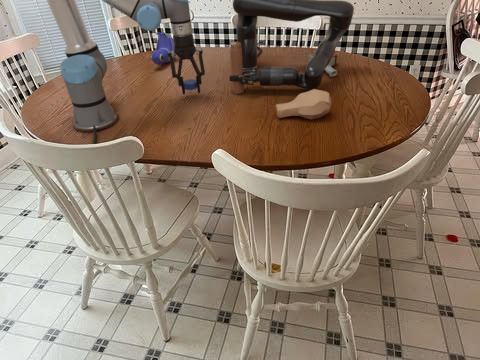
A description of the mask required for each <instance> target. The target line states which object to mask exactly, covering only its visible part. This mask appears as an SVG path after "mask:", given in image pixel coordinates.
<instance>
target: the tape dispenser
mask: <svg viewBox="0 0 480 360" xmlns="http://www.w3.org/2000/svg"><path fill="white" fill-rule="evenodd" d="M313 56H314V54H308V63H309V62H310V60H311V59H312V58H313ZM337 59H338V54H337V53H336V52H335V51H334V53H333V56H332V58H331V60H330V62H329V64H328V66H327V67H326V68H325V69H324V71H325V73H326V74H328V76H329V77H330V78H333V77H336V76H337V75H338V70H337V69H335V68H333V66H336V64H337Z"/></svg>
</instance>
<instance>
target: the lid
mask: <svg viewBox="0 0 480 360" xmlns="http://www.w3.org/2000/svg"><path fill="white" fill-rule="evenodd" d="M183 81H184V82H183V86H184V89H185V91H193V90H196V89H198V88H197V81H196V78H190V79H185V80H183Z"/></svg>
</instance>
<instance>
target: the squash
mask: <svg viewBox="0 0 480 360" xmlns="http://www.w3.org/2000/svg"><path fill="white" fill-rule="evenodd" d="M331 107H332V98H331V94H330V92H328V91H326V90H321V89H317V88H315V89H309V90H308V91H305V92H301V93H299V94H298V95H297V96H296V97H295V98H294V99H293V100H292V101H289V102H288V101H287V102H283V103H276V104H275V106H274V110H275V111H276V116H277V118H278V119H283V118H286V117H301V118H304V119H308V120H316V119H321V118H322V117H324V116H326V115H328V114H330V111H331Z"/></svg>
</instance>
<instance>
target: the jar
mask: <svg viewBox="0 0 480 360" xmlns="http://www.w3.org/2000/svg"><path fill="white" fill-rule="evenodd" d="M229 46H230V48H229V57H230V73H231V76H240V75H243V66H242V48H241V43H240V42H237V41H232V42H230V44H229ZM231 87H232V88H231V89H232V94H235V95H240V94H243V93H244V91H245V89H244V84H240V82H239V81H231Z"/></svg>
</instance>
